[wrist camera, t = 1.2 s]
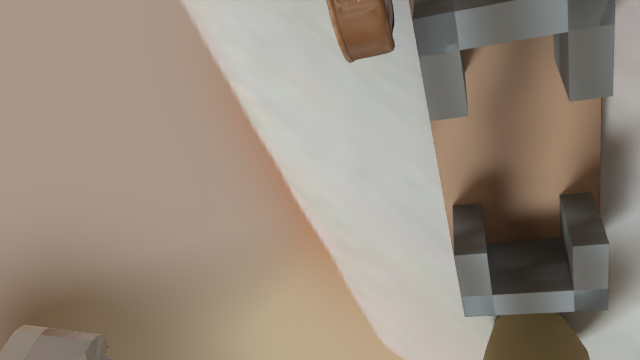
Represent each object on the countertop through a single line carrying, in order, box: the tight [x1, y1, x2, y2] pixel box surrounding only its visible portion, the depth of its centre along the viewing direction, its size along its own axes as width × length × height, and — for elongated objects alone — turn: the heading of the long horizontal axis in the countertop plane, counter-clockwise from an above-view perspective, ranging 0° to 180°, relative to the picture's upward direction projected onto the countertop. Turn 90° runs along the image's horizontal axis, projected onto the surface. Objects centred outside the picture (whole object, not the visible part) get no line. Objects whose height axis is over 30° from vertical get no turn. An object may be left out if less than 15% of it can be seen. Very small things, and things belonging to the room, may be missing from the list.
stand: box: [409, 0, 615, 317], centre depth 36 cm, size 10×22×6 cm, turn 14°
